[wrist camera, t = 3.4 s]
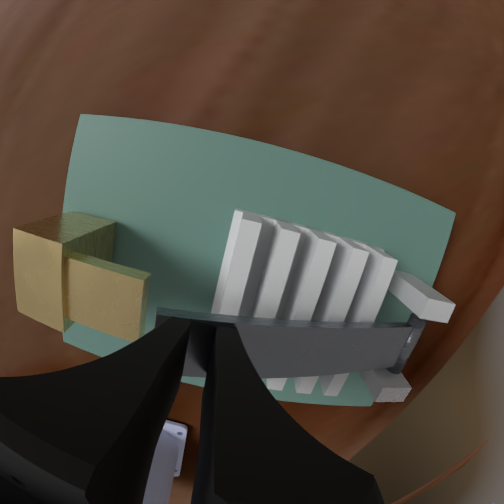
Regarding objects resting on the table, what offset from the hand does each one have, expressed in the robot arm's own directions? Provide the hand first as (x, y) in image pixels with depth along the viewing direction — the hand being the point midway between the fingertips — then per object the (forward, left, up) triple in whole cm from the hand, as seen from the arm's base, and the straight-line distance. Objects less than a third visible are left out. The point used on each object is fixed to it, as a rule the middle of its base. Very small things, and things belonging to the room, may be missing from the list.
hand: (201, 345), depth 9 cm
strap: (0, -4, -2) cm, 5 cm away
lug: (0, +6, -6) cm, 8 cm away
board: (0, -2, -7) cm, 7 cm away
